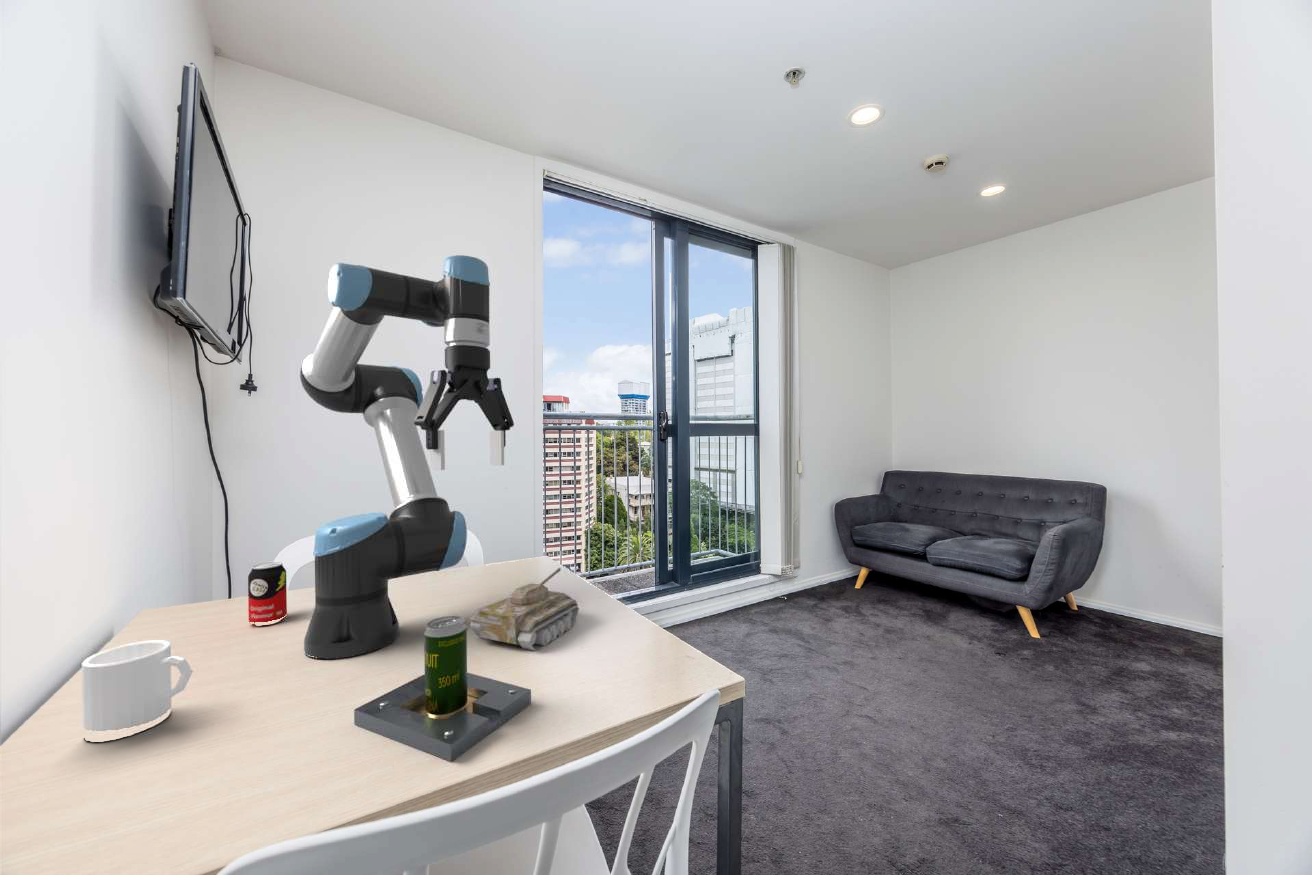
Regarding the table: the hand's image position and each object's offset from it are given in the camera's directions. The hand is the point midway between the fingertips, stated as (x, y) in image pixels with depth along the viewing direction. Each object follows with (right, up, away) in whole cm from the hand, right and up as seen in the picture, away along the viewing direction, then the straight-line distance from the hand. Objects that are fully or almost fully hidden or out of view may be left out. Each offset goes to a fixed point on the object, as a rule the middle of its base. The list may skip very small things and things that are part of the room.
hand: (469, 467), depth 88 cm
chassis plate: (+4, -33, -20) cm, 38 cm away
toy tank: (+9, -33, +11) cm, 36 cm away
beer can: (+4, -32, -20) cm, 38 cm away
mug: (-36, -33, -21) cm, 53 cm away
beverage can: (-48, -34, +16) cm, 61 cm away
